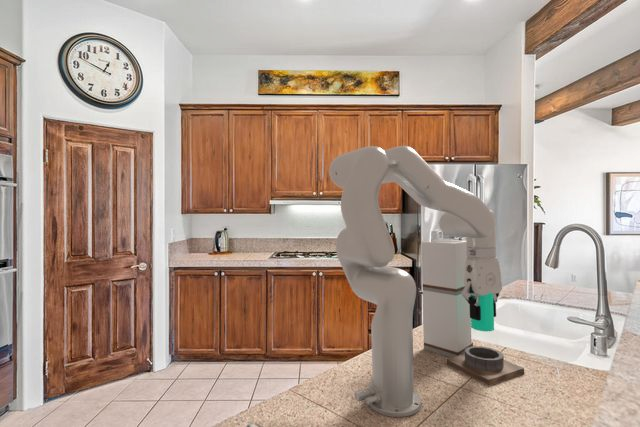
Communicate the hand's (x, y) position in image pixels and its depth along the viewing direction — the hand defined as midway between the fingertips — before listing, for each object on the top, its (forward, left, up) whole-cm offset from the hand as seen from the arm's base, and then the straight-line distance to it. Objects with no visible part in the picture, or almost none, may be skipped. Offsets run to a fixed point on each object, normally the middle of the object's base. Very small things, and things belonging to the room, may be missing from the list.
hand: (483, 316), depth 95 cm
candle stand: (0, 0, -15) cm, 15 cm away
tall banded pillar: (+2, +15, -15) cm, 21 cm away
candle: (0, 0, -3) cm, 3 cm away
